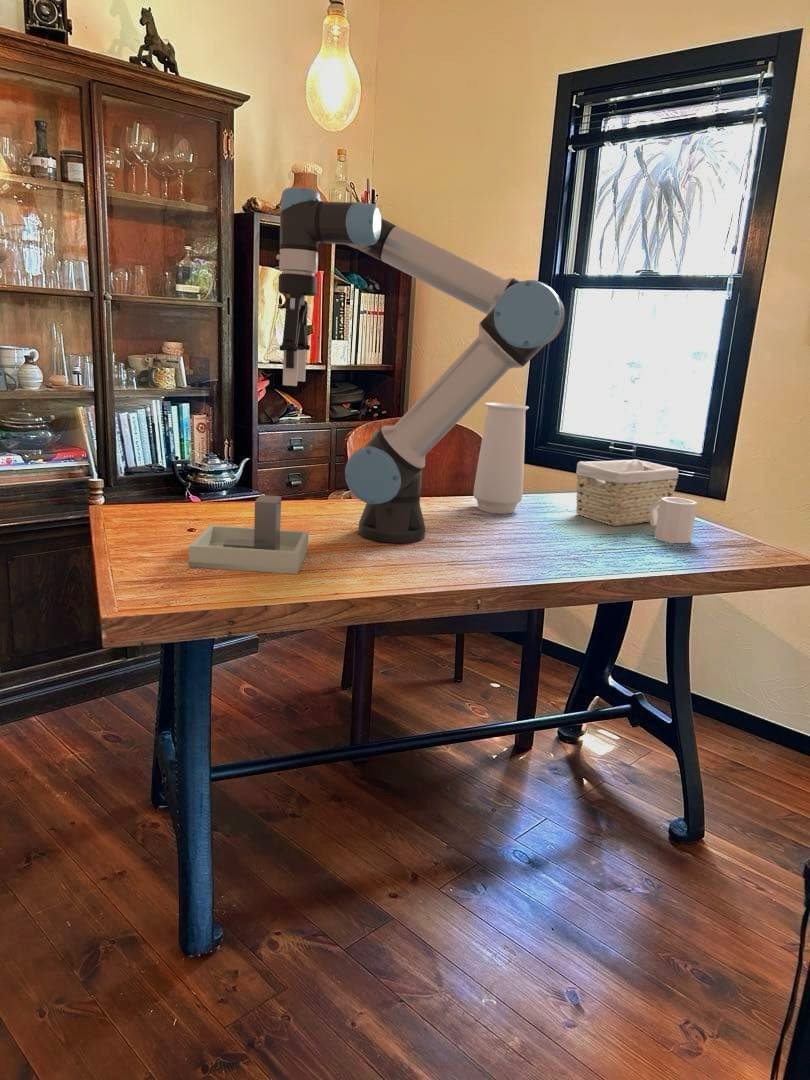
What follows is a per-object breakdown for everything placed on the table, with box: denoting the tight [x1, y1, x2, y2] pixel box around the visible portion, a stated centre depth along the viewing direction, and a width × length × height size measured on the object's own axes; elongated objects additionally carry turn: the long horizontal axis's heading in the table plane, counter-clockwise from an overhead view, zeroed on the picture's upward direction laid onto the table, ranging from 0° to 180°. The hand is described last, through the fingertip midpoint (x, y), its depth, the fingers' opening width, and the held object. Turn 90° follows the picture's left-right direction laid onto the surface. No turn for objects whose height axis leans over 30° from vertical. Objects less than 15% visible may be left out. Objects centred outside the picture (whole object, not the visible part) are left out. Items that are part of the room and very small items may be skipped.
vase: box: [473, 402, 530, 515], centre depth 204 cm, size 13×13×28 cm
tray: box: [188, 524, 309, 575], centre depth 149 cm, size 20×16×4 cm
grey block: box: [223, 494, 282, 551], centre depth 148 cm, size 10×6×11 cm, turn 90°
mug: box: [649, 496, 698, 544], centre depth 189 cm, size 12×9×10 cm
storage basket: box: [575, 458, 680, 527], centre depth 207 cm, size 24×16×15 cm
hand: (294, 383), depth 157 cm, fingers open, 13 cm apart
